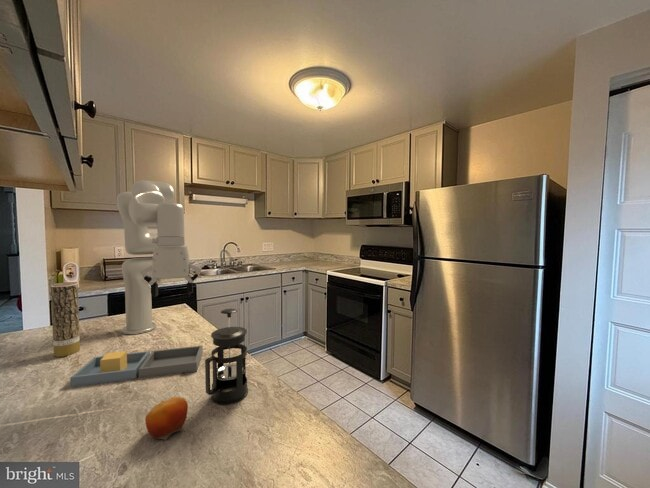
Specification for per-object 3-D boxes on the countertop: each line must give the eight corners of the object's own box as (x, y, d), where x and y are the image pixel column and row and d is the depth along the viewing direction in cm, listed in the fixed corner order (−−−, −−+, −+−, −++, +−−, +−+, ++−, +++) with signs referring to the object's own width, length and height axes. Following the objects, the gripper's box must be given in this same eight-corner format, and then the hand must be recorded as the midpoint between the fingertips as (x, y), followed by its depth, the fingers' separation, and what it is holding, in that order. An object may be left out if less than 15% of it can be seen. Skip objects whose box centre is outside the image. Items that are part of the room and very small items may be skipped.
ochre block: (108, 368, 86) (108, 352, 86) (127, 366, 87) (126, 351, 87) (100, 376, 81) (100, 360, 81) (120, 374, 83) (119, 357, 82)
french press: (236, 379, 81) (236, 302, 80) (257, 391, 75) (256, 308, 74) (197, 399, 71) (196, 312, 70) (217, 413, 66) (216, 319, 65)
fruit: (163, 447, 54) (151, 406, 55) (146, 452, 57) (136, 414, 59) (201, 423, 60) (189, 387, 62) (183, 429, 64) (173, 395, 66)
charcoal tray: (152, 359, 93) (152, 350, 93) (202, 353, 97) (202, 345, 97) (138, 379, 81) (138, 369, 80) (196, 371, 85) (196, 362, 85)
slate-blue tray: (94, 366, 88) (94, 356, 88) (150, 359, 93) (149, 351, 93) (70, 388, 76) (70, 377, 76) (135, 379, 80) (135, 369, 80)
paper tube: (85, 349, 100) (82, 282, 99) (65, 358, 93) (63, 285, 92) (68, 348, 101) (65, 281, 100) (48, 357, 94) (45, 285, 93)
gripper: (135, 243, 81) (137, 300, 82) (199, 242, 86) (200, 296, 87) (144, 242, 88) (145, 294, 89) (202, 241, 93) (203, 291, 94)
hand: (172, 295), depth 88 cm, fingers open, 9 cm apart
